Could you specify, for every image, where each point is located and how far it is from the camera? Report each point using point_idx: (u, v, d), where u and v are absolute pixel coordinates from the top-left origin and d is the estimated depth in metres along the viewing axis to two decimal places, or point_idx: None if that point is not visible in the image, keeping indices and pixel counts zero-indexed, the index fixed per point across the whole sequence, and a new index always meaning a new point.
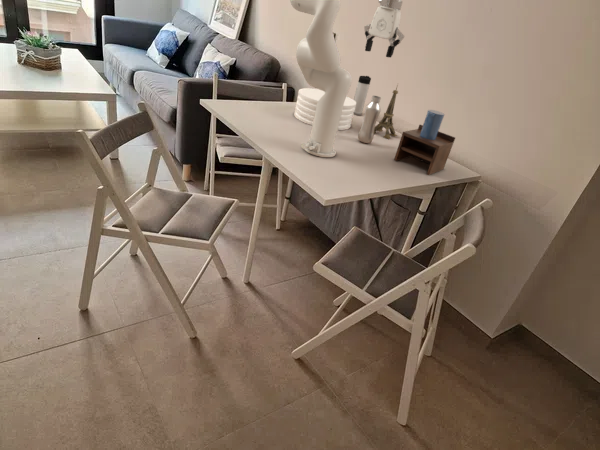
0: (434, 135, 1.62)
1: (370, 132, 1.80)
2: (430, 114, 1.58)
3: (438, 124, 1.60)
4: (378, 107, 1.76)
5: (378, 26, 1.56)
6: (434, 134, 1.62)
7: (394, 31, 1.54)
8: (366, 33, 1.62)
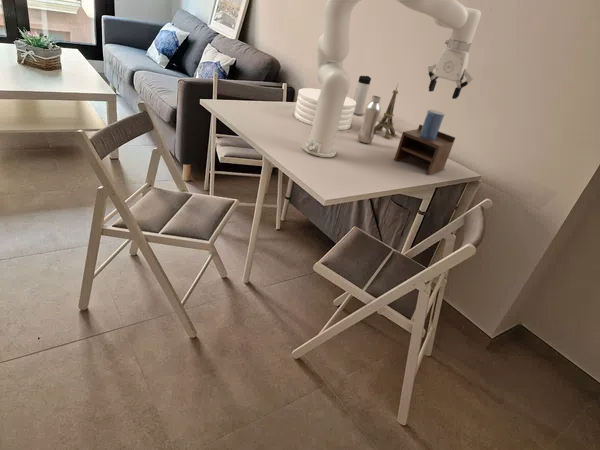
0: (434, 135, 1.62)
1: (370, 132, 1.80)
2: (430, 114, 1.58)
3: (438, 124, 1.60)
4: (378, 107, 1.76)
5: (445, 68, 1.52)
6: (434, 134, 1.62)
7: (462, 73, 1.50)
8: (430, 73, 1.58)
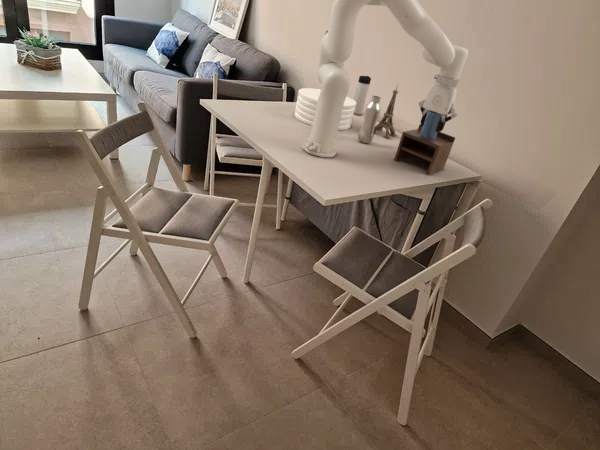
0: (434, 135, 1.62)
1: (370, 132, 1.80)
2: (430, 114, 1.58)
3: (438, 124, 1.60)
4: (378, 107, 1.76)
5: (433, 101, 1.58)
6: (434, 134, 1.62)
7: (450, 107, 1.56)
8: (422, 109, 1.63)
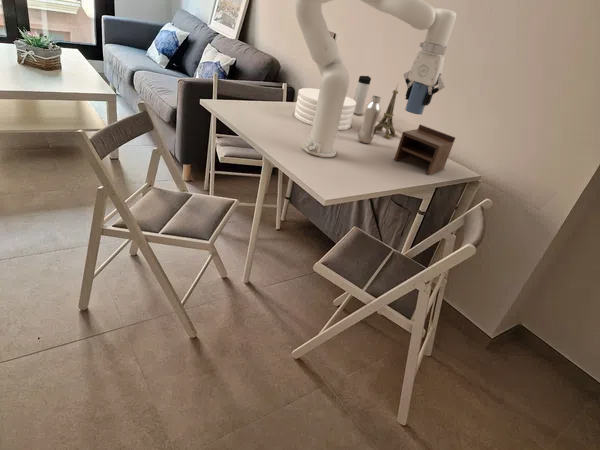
0: (420, 109, 1.49)
1: (370, 132, 1.80)
2: (416, 85, 1.45)
3: None
4: (378, 107, 1.76)
5: (419, 72, 1.44)
6: (420, 108, 1.49)
7: (437, 78, 1.42)
8: (407, 81, 1.50)
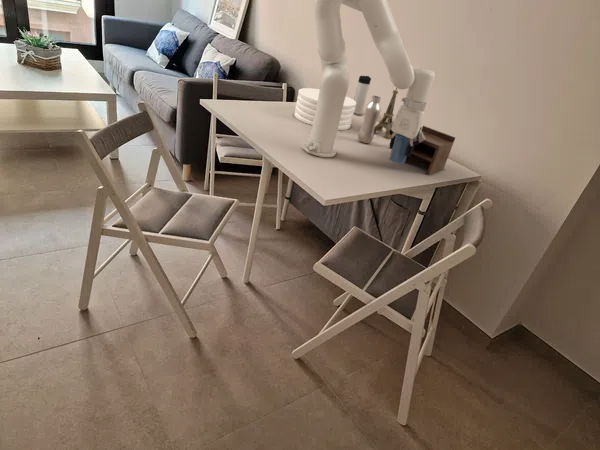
0: (403, 159, 1.58)
1: (370, 132, 1.80)
2: (398, 138, 1.54)
3: None
4: (378, 107, 1.76)
5: (401, 125, 1.53)
6: (403, 158, 1.58)
7: (418, 131, 1.51)
8: (390, 132, 1.59)
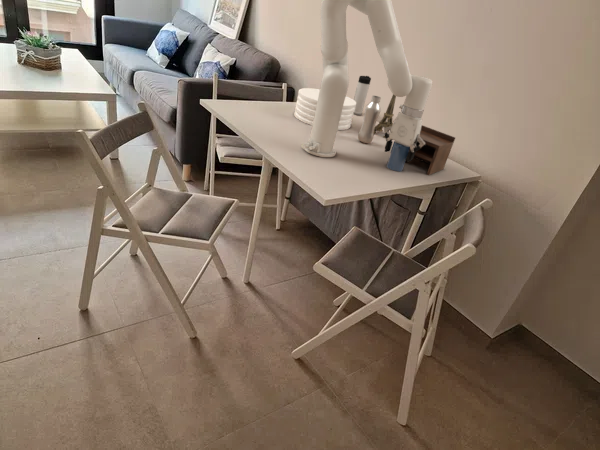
0: (400, 166, 1.59)
1: (370, 132, 1.80)
2: (395, 146, 1.55)
3: (404, 156, 1.57)
4: (378, 107, 1.76)
5: (399, 132, 1.54)
6: (400, 165, 1.59)
7: (415, 138, 1.52)
8: (386, 135, 1.60)
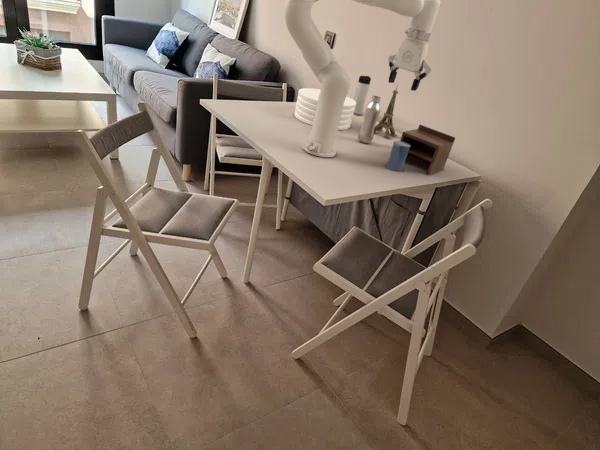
0: (400, 166, 1.59)
1: (370, 132, 1.80)
2: (395, 146, 1.55)
3: (404, 156, 1.57)
4: (378, 107, 1.76)
5: (404, 58, 1.47)
6: (400, 165, 1.59)
7: (421, 64, 1.45)
8: (390, 64, 1.53)
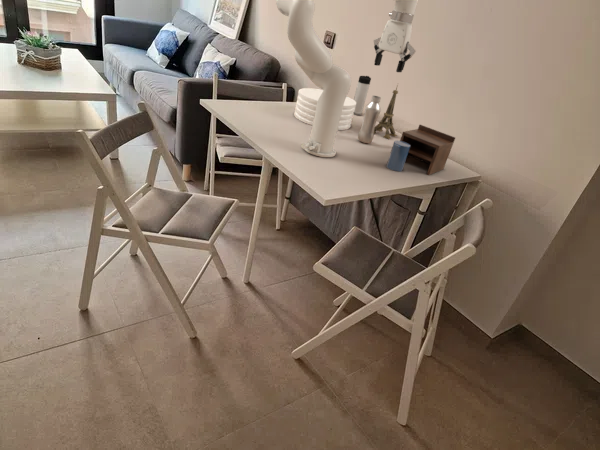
0: (400, 166, 1.59)
1: (370, 132, 1.80)
2: (395, 146, 1.55)
3: (404, 156, 1.57)
4: (378, 107, 1.76)
5: (388, 40, 1.51)
6: (400, 165, 1.59)
7: (405, 45, 1.49)
8: (375, 47, 1.57)
